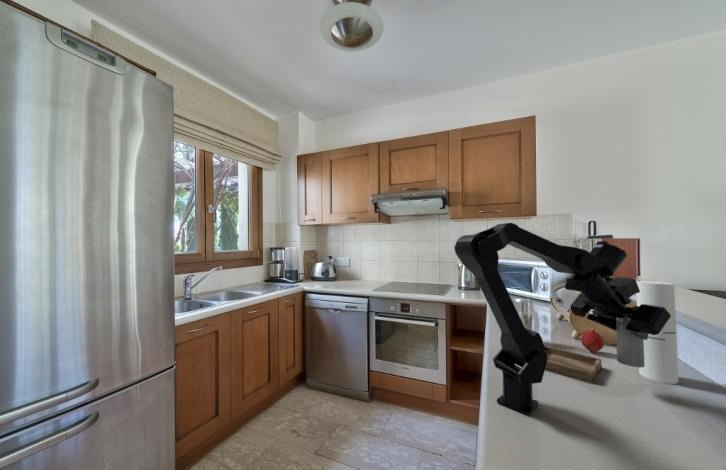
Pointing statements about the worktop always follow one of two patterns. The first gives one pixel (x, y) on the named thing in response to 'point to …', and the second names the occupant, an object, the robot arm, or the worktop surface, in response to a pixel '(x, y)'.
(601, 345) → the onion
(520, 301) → the beer glass
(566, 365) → the walnut tray
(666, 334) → the cylindrical container
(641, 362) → the cylinder
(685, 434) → the worktop surface
